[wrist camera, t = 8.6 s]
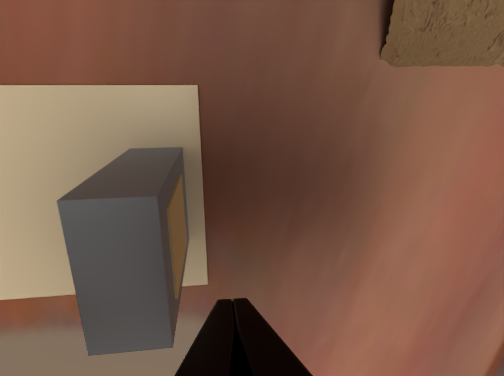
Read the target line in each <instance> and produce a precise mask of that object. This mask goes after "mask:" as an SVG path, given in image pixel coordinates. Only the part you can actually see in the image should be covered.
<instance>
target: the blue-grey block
mask: <svg viewBox="0 0 504 376" xmlns="http://www.w3.org/2000/svg"><path fill="white" fill-rule="evenodd" d="M57 205H58V210H59V215H60V220H61V225H62V230H63V235H64V239H65V244H66V249H67V254H68V259H69V264H70V268H71V273H72V278H73V283H74V288H75V293H76V297H77V302H78V307H79V312H80V317H81V322H82V326H83V331H84V336H85V341H86V346H87V351H88V355H89V356H91V355H102V354H111V353H122V352H132V351H142V350H152V349H163V348H172V347H173V342H174V336H175V329H176V323H177V316H178V310H179V303H180V296H181V290H182V283H183V277H184V270H185V264H186V257H187V251H188V244H189V228H188V215H187V201H186V187H185V174H184V160H183V147H166V148H130V149H128V150H127V151H126V152H124V153H123V154H121V155H120V156H119V157H117V158H116V159H114V160H113V161H112V162H110V163H109V164H107V165H106V166H105V167H103V168H102V169H100V170H99V171H98V172H96V173H95V174H93V175H92V176H91V177H89V178H88V179H86V180H85V181H83V182H82V183H81V184H79V185H78V186H76V187H75V188H74V189H72V190H71V191H69V192H68V193H67V194H65V195H64V196H62V197H61V198H60V199H58V200H57Z"/></svg>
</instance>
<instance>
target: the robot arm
mask: <svg viewBox="0 0 504 376" xmlns="http://www.w3.org/2000/svg"><path fill="white" fill-rule="evenodd" d="M175 376H313V375H312V374H311V373H310V372H309V371H308V370H307V368H306V367H305V366H304V365H303V364H302V363H301V361H300V360H299V359H298V358H297V357H296V355H295V354H294V353H293V352H292V351H291V350H290V348H289V347H288V346H287V345H286V344H285V343H284V341H283V340H282V339H281V338H280V337H279V336H278V334H277V333H276V332H275V331H274V330H273V328H272V327H271V326H270V325H269V324H268V323H267V321H266V320H265V319H264V318H263V317H262V316H261V314H260V313H259V312H258V311H257V310H256V308H255V307H254V306H253V305H252V304H251V303H250V301H249V300H248V299H247V298H237V299H233V301H232V300H231V299H220V300H217V302H216V303H215V305H214V307H213V309H212V310H211V312H210V314H209V316H208V317H207V319H206V321H205V323H204V325H203V326H202V328H201V330H200V332H199V333H198V335H197V337H196V339H195V340H194V342H193V344H192V346H191V347H190V349H189V351H188V353H187V355H186V356H185V358H184V360H183V362H182V363H181V365H180V367H179V369H178V370H177V372H176V374H175Z"/></svg>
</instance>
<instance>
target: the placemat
mask: <svg viewBox="0 0 504 376" xmlns="http://www.w3.org/2000/svg"><path fill="white" fill-rule="evenodd" d="M166 147H183V160H184V174H185V187H186V201H187V215H188V228H189V244H188V251H187V257H186V264H185V270H184V277H183V283H182V286H194V285H208V272H207V253H206V234H205V215H204V196H203V176H202V157H201V138H200V119H199V99H198V85H0V300H4V299H18V298H31V297H45V296H59V295H72V294H76V293H75V288H74V283H73V278H72V273H71V268H70V264H69V259H68V254H67V249H66V244H65V239H64V235H63V230H62V225H61V220H60V215H59V210H58V205H57V200H58V199H60V198H61V197H62V196H64V195H65V194H67V193H68V192H69V191H71V190H72V189H74V188H75V187H76V186H78V185H79V184H81V183H82V182H83V181H85V180H86V179H88V178H89V177H91V176H92V175H93V174H95V173H96V172H98V171H99V170H100V169H102V168H103V167H105V166H106V165H107V164H109V163H110V162H112V161H113V160H114V159H116V158H117V157H119V156H120V155H121V154H123V153H124V152H126V151H127V150H128V149H130V148H166Z"/></svg>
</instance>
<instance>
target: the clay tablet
mask: <svg viewBox="0 0 504 376" xmlns="http://www.w3.org/2000/svg"><path fill="white" fill-rule="evenodd" d="M390 20H391V24H390V26H389V34H388V35H387V37H386V43H387V44H385V46H384V47H383V49H382V50H381V58H380V59H382V60H385V61H386V62H388V63H389V65H391V66H395V67H403V66H431V65H438V66H491V65H494V64H499V65H502V66H504V0H395V1H394V5H393V13H392V15H391V17H390Z"/></svg>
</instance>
